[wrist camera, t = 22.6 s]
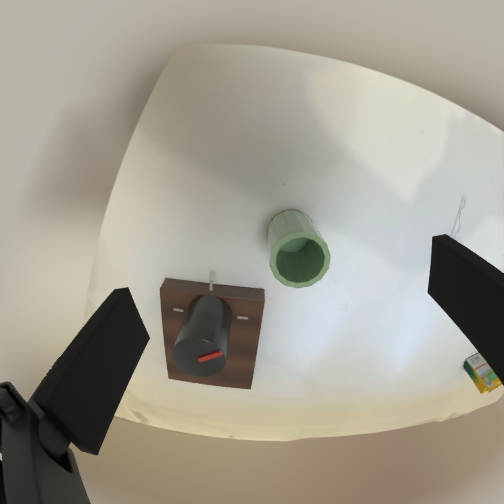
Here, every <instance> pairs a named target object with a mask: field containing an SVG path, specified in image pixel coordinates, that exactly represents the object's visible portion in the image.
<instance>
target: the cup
mask: <svg viewBox="0 0 504 504" xmlns="http://www.w3.org/2000/svg"><path fill="white" fill-rule="evenodd" d="M267 234H268V236H267V239H268V251H269V262H270V268H271V270H272V272H273V274H274V277H275V278H276V279H277V280H279V281H280V282H281V283H282V284H284V285H286V286H290V287H294V288H302V287H307V286H311V285H313V284H314V283H316V282H317V281H319V280H321V279H322V277H323V276H324V274H325V273H326V271H327V270H328V268H329V263H330V252H329V249H328V246H327V244H326V242H325V241H324V239H323V238H322V236H321V234H320V233H319V231H318V230H317V228H316V227H315V225H314V224H313V222H312V221H311V220H310V219H309V218H308V216H306V215H305V214H304V213H302V212H300V211H296V210H287V211H283V212H281V213H279V214H277V215H276V216H275V217H274V218H273V219H272V220H271V222H270V224H269V227H268V233H267Z"/></svg>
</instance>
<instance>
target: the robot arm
mask: <svg viewBox="0 0 504 504" xmlns="http://www.w3.org/2000/svg"><path fill="white" fill-rule="evenodd" d="M428 294H429V295H430V296H431V297H432V298H433V299H434V300H435V301H436V302H437V303H438V305H439V306H440V307H441V308H442V309H443V310H444V311H445V312H446V313H447V315H448V316H449V317H450V318H451V319H452V320H453V321H454V323H455V324H456V325H457V326H458V327H459V328H460V330H461V331H462V332H463V333H464V334H465V336H466V337H467V338H468V339H469V340H470V342H471V343H472V344H473V345H474V347H475V348H476V349H477V350H478V352H479V353H480V354H481V356H482V357H483V358H484V359H485V361H486V362H487V363H488V365H489V366H490V367H491V369H492V370H493V371H494V373H495V374H496V375H497V377H498V378H499V380H500V381H501V382H502V384H503V385H504V273H502V272H501V271H500V270H498V269H497V268H496V267H494V266H493V265H491V264H490V263H489V262H487V261H486V260H484V259H483V258H481V257H480V256H479V255H477V254H476V253H474V252H473V251H471V250H470V249H468V248H467V247H465V246H463V245H462V244H460V243H459V242H457V241H456V240H454V239H453V238H451V237H449V236H448V235H446V234H444V235H439V236H433V237H432V253H431V265H430V276H429V285H428ZM149 339H150V337H149V335H148V333H147V330H146V328H145V326H144V324H143V321H142V319H141V317H140V315H139V312H138V310H137V308H136V305H135V303H134V300H133V298H132V296H131V293H130V291H129V288H128V287H127V288H120V289H114V290H113V291H112V293H111V294H110V295H109V296H108V297H107V299H106V300H105V301H104V302H103V303H102V305H101V306H100V307H99V308H98V309H97V311H96V312H95V313H94V314H93V315H92V317H91V318H90V319H89V320H88V322H87V323H86V324H85V325H84V327H83V328H82V329H81V330H80V332H79V333H78V334H77V336H76V337H75V338H74V339H73V341H72V342H71V343H70V345H69V346H68V347H67V349H66V350H65V351H64V353H63V354H62V355H61V356H60V357H59V358H58V359H57V360H56V362H55V363H54V365H53V366H52V369H50V370H49V372H48V373H47V374H46V375H47V376H45V377H44V379H43V380H42V382H41V383H40V384H39V386H38V387H37V389H36V390H35V392H34V393H33V395H32V396H31V398H30V399H29V401H28V402H26V401H25V400H24V399H23V397H22V396H21V395H20V394H19V392H18V391H17V390H16V388H15V387H14V386H13V385H12V384H11V383H10V382H3V383H0V453H1V454H2V461H1V460H0V504H91V503H90V501H89V498H88V496H87V493H86V490H85V488H84V485H83V482H82V479H81V476H80V473H79V470H78V467H77V463H76V460H75V457H74V454H73V452H72V450H71V449H70V448H69V445H70V443H71V442H72V443H73V444H74V445H75V446H76V447H77V448H78V449H80V450H81V451H83V452H86V453H90V454H93V455H98V453H99V450H100V447H101V445H102V443H103V441H104V438H105V436H106V433H107V431H108V429H109V426H110V424H111V421H112V419H113V417H114V414H115V412H116V410H117V408H118V405H119V403H120V401H121V399H122V396H123V394H124V392H125V390H126V387H127V385H128V383H129V381H130V379H131V377H132V374H133V372H134V370H135V368H136V366H137V364H138V362H139V360H140V357H141V355H142V353H143V351H144V349H145V347H146V345H147V343H148V341H149Z"/></svg>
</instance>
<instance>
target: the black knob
mask: <svg viewBox="0 0 504 504" xmlns="http://www.w3.org/2000/svg"><path fill="white" fill-rule="evenodd" d="M231 323H232V310H231V308H230V306H229V305H228V304H227V303H226V302H225V301H224V300H223V299H221V298H219V297H217V296H213V295H203V296H199V297H197V298H196V299H194V300H193V301H192V302H191V304H190V306H189V308H188V311H187V313H186V316H185V319H184V321H183V324H182V326H181V329H180V332H179V334H178V337H177V340H176V342H175V345H174V348H173V351H172V356H173V359H174V362H175V363H176V365H177V366H178V367H179V368H180V369H182V370H183V371H184V372H186V373H188V374H191V375H193V376H198V377H211V376H214V375H217V374H219V373H220V372H221V371H222V370H223V369H224V367H225V365H226V358H227V351H228V344H229V337H230V330H231Z"/></svg>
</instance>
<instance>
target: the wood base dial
mask: <svg viewBox="0 0 504 504" xmlns="http://www.w3.org/2000/svg"><path fill="white" fill-rule="evenodd" d="M203 295H213V296H217V297H219V298H221V299H223V300H224V301H225V302H226V303H227V304H228V305H229V306H230V308H231V310H232V323H231V330H230V337H229V344H228V351H227V358H226V365H225V367H224V369H223V370H222V371H221V372H220V373H219V374H217V375H214V376H211V377H198V376H193V375H191V374H188V373H186V372H184V371H183V370H182V369H180V368H179V367H178V366H177V365H176V363H175V362H174V359H173V356H172V351H173V348H174V345H175V342H176V340H177V337H178V334H179V332H180V329H181V326H182V324H183V321H184V319H185V316H186V313H187V311H188V308H189V306H190V304H191V302H192V301H193V300H194V299H196V298H197V297H199V296H203ZM160 298H161V312H162V324H163V335H164V345H165V354H166V362H167V370H168V377H169V379H174V380H180V381H186V382H192V383H199V384H206V385H214V386H222V387H231V388H241V389H251V385H252V379H253V373H254V367H255V361H256V354H257V348H258V342H259V335H260V329H261V322H262V316H263V309H264V302H265V294H264V289H255V288H245V287H235V286H226V285H217V284H213V281H210V284H208V283H200V282H191V281H183V280H175V279H168V278H166V279H165V281H164V283H163V284H162V286H161V287H160Z"/></svg>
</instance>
